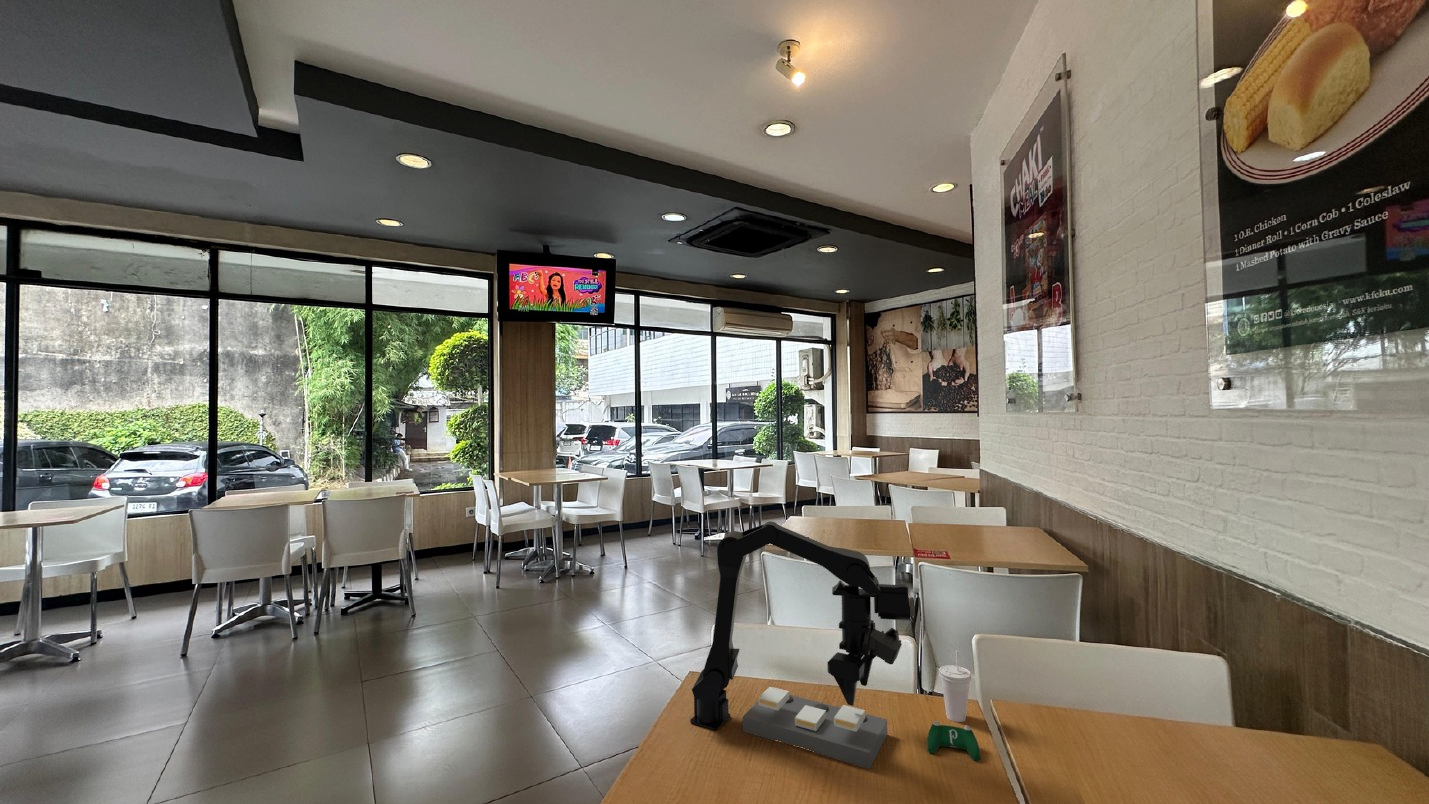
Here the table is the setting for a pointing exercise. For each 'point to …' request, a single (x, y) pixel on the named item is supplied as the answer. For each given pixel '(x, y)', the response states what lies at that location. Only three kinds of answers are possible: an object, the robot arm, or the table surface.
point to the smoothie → (955, 690)
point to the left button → (773, 698)
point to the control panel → (819, 731)
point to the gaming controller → (953, 739)
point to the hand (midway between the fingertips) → (857, 694)
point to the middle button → (810, 718)
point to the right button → (849, 718)
